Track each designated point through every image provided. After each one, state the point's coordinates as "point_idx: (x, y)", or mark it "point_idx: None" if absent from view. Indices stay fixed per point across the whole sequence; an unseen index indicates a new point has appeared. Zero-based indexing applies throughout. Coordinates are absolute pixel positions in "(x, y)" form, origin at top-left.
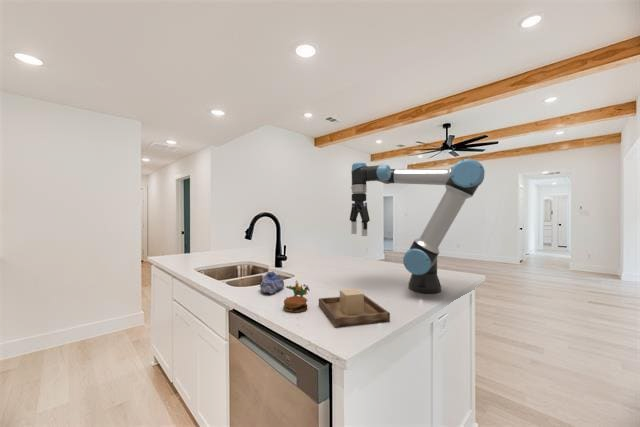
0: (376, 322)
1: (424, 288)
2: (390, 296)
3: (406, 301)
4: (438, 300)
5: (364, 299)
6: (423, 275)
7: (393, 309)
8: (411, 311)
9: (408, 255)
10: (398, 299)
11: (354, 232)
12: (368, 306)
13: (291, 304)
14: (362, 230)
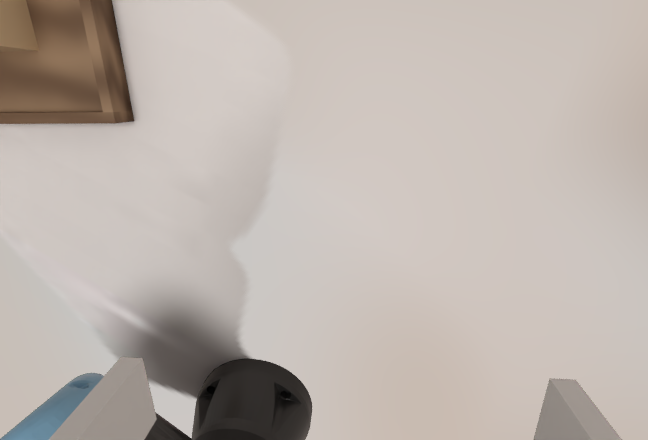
0: None
1: (202, 388)
2: (190, 252)
3: (129, 274)
4: None
5: (93, 111)
6: (196, 434)
7: (49, 190)
8: (33, 235)
9: (2, 437)
10: (152, 261)
11: (552, 437)
12: (42, 102)
13: None
14: (57, 434)
